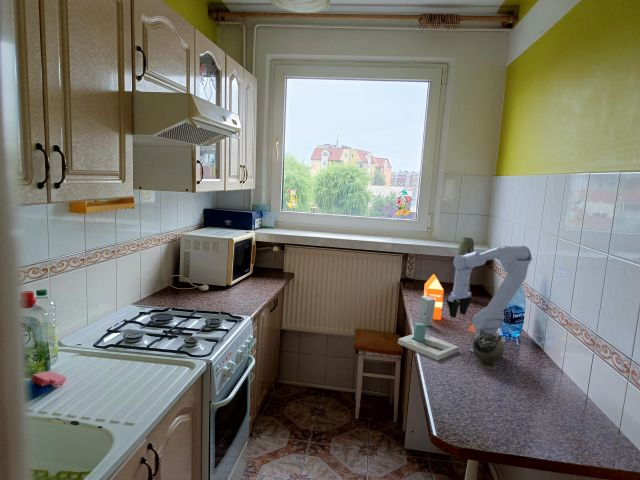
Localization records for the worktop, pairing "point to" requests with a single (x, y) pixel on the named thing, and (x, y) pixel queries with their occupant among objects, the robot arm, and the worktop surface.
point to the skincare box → (426, 310)
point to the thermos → (466, 250)
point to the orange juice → (435, 295)
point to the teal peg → (419, 332)
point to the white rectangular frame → (421, 348)
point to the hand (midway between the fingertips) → (457, 315)
